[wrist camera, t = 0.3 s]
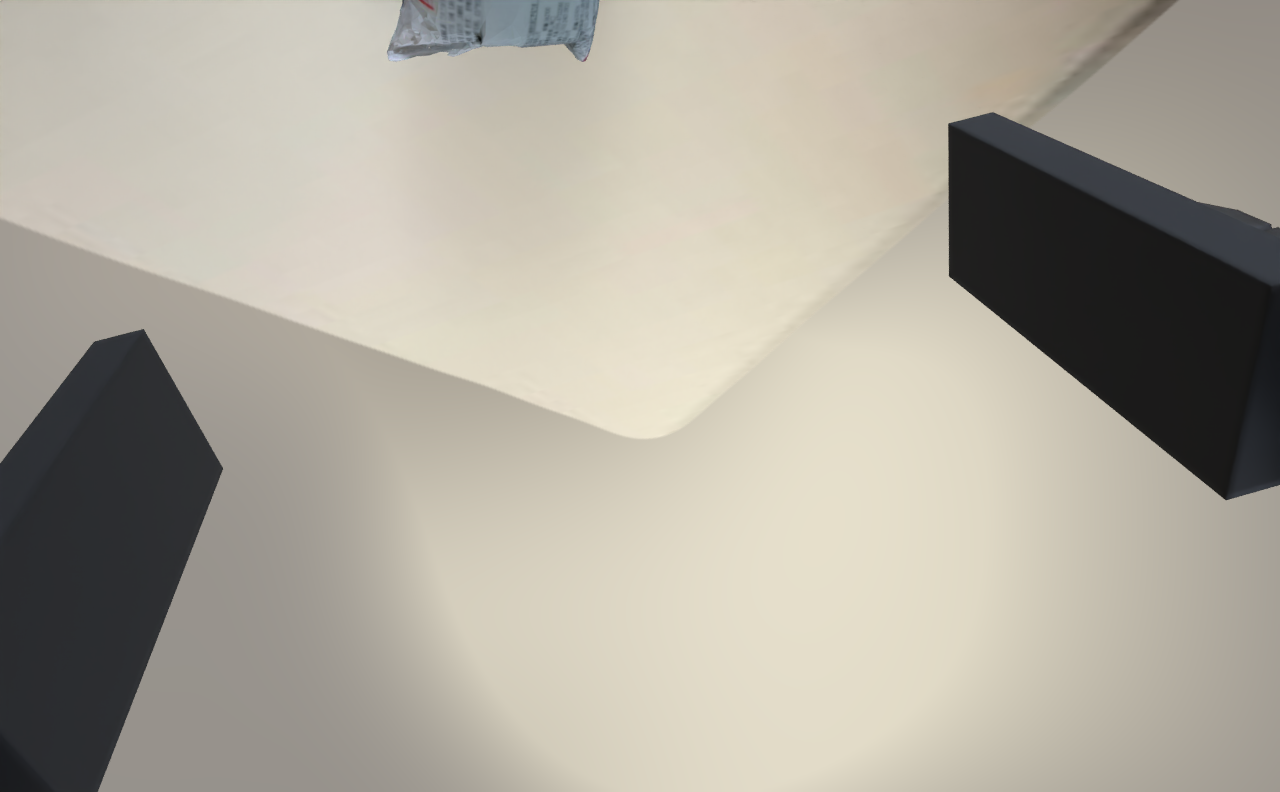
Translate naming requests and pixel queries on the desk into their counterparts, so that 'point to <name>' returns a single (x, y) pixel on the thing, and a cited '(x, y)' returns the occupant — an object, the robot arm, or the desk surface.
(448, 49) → the packaged food
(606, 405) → the desk surface
